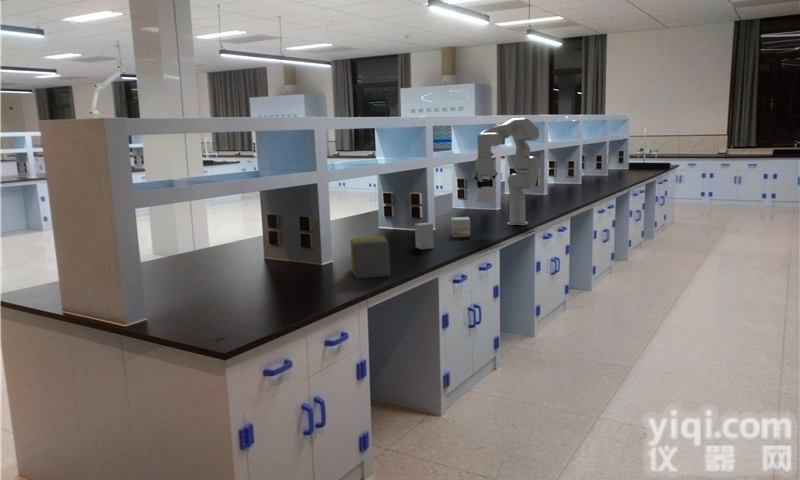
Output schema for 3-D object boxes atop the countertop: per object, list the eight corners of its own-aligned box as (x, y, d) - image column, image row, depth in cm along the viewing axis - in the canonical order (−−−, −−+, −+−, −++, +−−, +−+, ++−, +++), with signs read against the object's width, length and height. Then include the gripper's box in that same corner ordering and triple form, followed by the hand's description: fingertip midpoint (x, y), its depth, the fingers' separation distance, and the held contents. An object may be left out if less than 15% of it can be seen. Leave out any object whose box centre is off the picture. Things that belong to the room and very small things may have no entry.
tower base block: (451, 234, 355) (451, 226, 354) (469, 233, 354) (469, 225, 354) (452, 237, 345) (452, 228, 344) (470, 236, 345) (470, 228, 344)
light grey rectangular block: (493, 201, 350) (493, 180, 348) (488, 202, 344) (488, 181, 342) (482, 200, 354) (481, 179, 351) (476, 202, 348) (476, 181, 345)
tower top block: (451, 226, 354) (451, 217, 353) (468, 225, 354) (468, 216, 353) (452, 228, 344) (452, 220, 343) (470, 228, 344) (470, 219, 343)
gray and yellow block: (383, 264, 282) (381, 232, 279) (390, 276, 258) (388, 241, 256) (350, 267, 280) (348, 234, 277) (355, 279, 256) (353, 244, 253)
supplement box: (434, 248, 316) (433, 224, 313) (421, 249, 313) (420, 225, 311) (428, 245, 322) (427, 222, 320) (415, 247, 320) (414, 223, 317)
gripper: (496, 154, 349) (497, 186, 352) (467, 156, 346) (468, 187, 349) (501, 155, 342) (501, 187, 345) (471, 156, 339) (472, 189, 342)
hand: (484, 187), depth 347 cm, fingers closed on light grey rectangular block, 6 cm apart
